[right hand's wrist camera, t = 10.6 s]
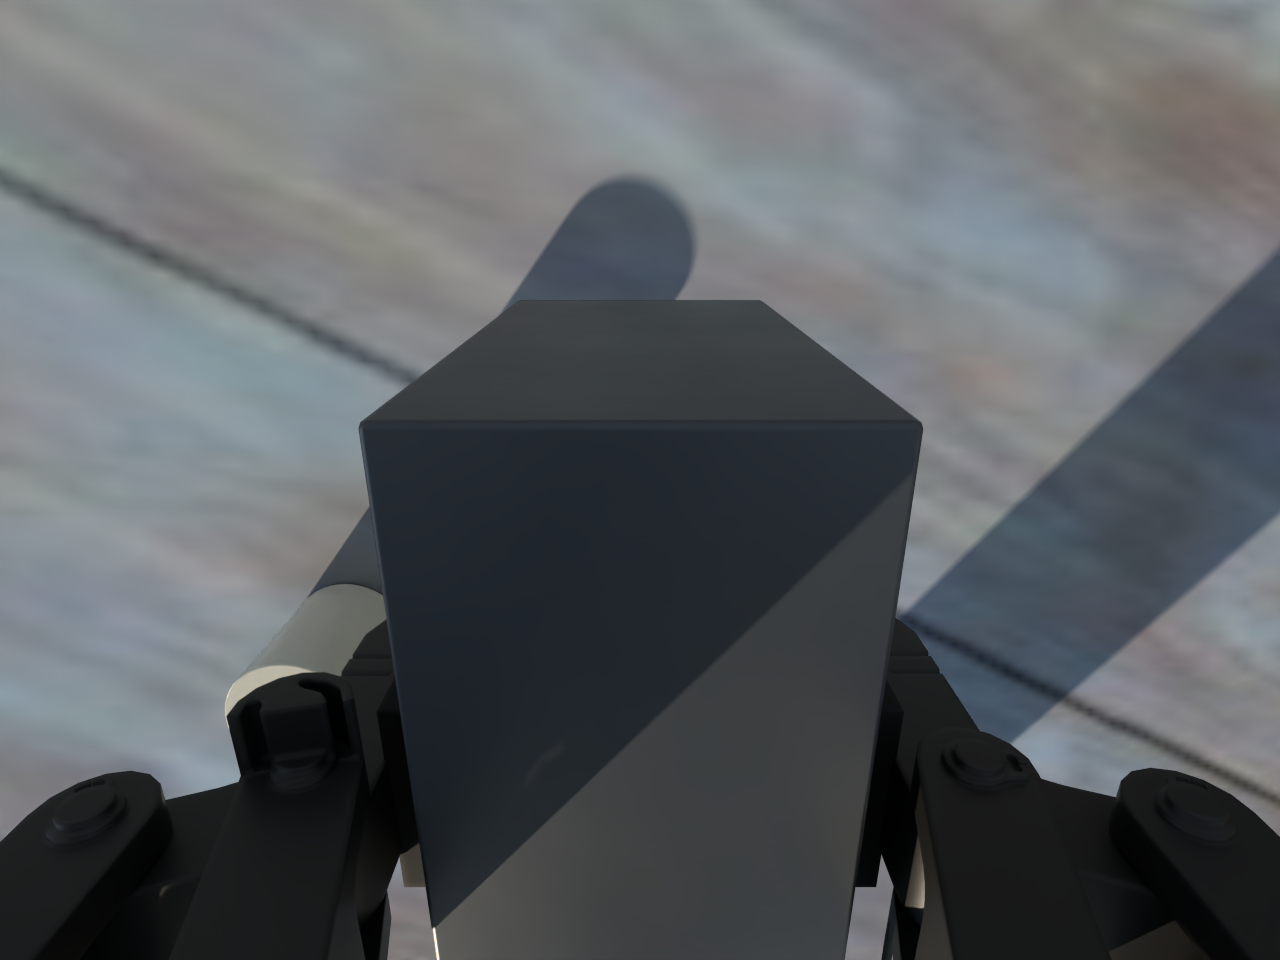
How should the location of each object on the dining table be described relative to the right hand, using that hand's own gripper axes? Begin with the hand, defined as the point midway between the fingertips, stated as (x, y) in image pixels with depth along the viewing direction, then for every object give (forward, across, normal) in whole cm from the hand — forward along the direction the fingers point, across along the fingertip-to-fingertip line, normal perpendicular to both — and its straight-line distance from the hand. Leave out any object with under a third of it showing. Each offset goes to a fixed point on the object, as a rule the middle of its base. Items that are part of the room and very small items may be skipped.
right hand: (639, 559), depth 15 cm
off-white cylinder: (+15, -13, -11) cm, 22 cm away
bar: (0, 0, -9) cm, 9 cm away
